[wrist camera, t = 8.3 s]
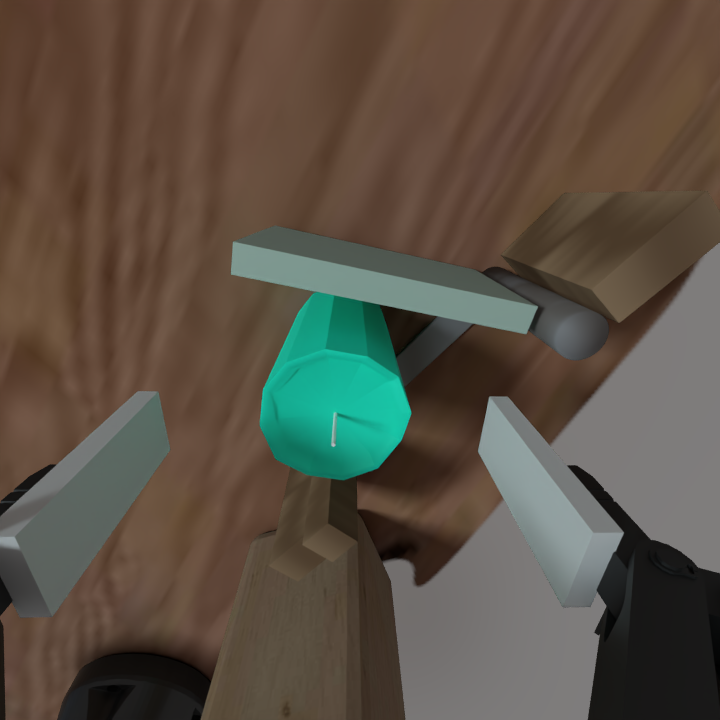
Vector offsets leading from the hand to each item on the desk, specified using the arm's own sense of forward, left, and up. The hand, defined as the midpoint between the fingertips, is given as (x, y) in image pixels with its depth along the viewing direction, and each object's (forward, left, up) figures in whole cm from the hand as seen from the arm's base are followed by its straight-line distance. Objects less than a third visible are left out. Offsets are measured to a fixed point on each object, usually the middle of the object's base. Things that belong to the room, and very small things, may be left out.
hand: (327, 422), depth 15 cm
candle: (0, 0, -10) cm, 10 cm away
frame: (+3, -5, -10) cm, 12 cm away
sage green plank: (+5, +2, -10) cm, 11 cm away
